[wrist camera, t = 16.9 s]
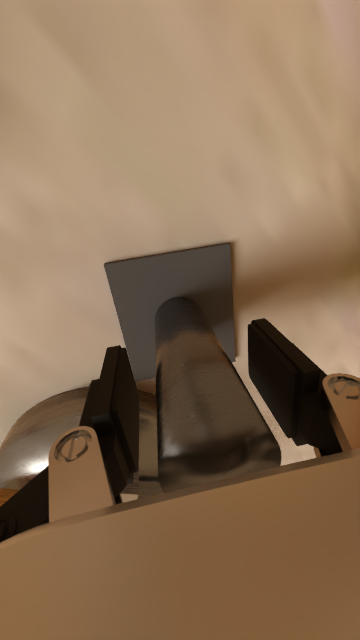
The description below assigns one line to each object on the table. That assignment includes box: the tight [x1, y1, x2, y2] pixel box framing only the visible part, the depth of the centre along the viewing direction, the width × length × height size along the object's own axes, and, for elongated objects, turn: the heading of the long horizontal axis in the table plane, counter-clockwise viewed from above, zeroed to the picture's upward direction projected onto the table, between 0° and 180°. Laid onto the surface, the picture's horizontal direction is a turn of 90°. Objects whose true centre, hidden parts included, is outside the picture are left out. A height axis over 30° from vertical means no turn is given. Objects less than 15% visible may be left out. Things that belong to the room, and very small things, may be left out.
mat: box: [104, 243, 235, 381], centre depth 16 cm, size 8×7×1 cm
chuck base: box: [0, 387, 159, 489], centre depth 19 cm, size 15×15×3 cm
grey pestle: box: [155, 297, 281, 493], centre depth 11 cm, size 3×3×10 cm
